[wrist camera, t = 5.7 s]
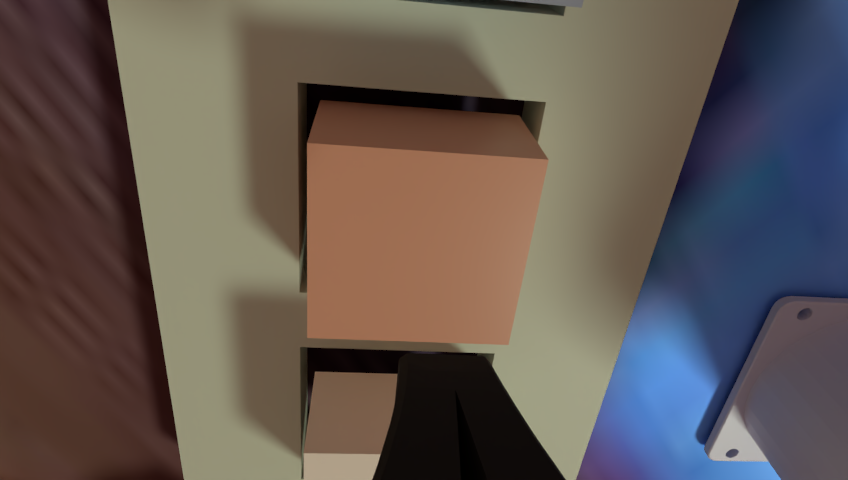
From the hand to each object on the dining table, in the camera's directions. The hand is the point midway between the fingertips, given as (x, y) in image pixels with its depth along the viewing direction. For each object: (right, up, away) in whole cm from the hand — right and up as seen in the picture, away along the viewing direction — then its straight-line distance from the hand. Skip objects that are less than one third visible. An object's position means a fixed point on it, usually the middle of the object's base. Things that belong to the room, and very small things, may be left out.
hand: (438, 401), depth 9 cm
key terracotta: (-1, +4, +6) cm, 8 cm away
